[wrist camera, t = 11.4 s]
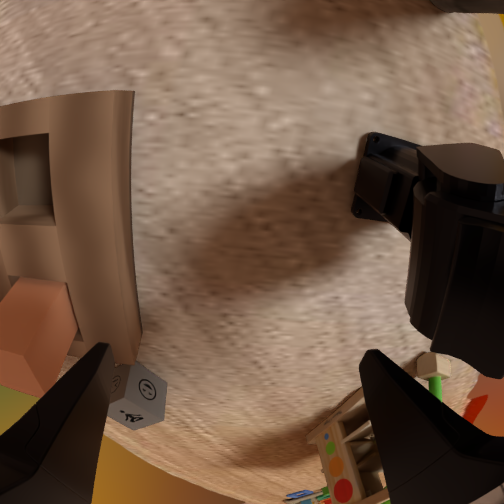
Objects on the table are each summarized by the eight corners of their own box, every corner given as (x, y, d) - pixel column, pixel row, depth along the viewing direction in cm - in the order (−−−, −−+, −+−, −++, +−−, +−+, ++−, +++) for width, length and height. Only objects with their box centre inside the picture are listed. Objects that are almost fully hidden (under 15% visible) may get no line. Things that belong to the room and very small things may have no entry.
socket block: (134, 90, 16) (114, 90, 12) (142, 332, 25) (134, 365, 22) (-17, 112, 14) (-49, 120, 10) (20, 314, 23) (4, 340, 20)
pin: (78, 263, 21) (23, 355, 12) (88, 307, 23) (49, 400, 14) (35, 259, 20) (-26, 340, 11) (46, 301, 22) (1, 385, 13)
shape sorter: (347, 494, 76) (350, 504, 72) (297, 507, 77) (299, 517, 73) (342, 477, 59) (346, 491, 55) (274, 494, 61) (277, 508, 57)
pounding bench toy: (404, 339, 30) (474, 467, 15) (459, 351, 34) (514, 442, 19) (303, 436, 39) (326, 536, 24) (367, 435, 43) (394, 516, 28)
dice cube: (139, 395, 30) (133, 430, 26) (105, 373, 28) (96, 409, 24) (167, 382, 29) (164, 420, 25) (132, 357, 27) (124, 397, 23)
